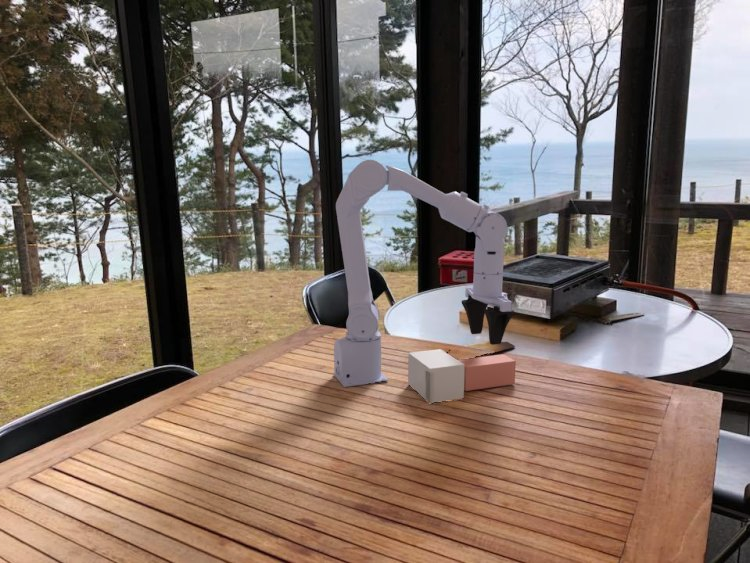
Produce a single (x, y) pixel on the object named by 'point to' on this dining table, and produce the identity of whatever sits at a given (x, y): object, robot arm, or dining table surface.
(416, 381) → the off-white grooved box
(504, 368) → the pink cuboid
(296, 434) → the dining table surface
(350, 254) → the robot arm
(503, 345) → the parchment
